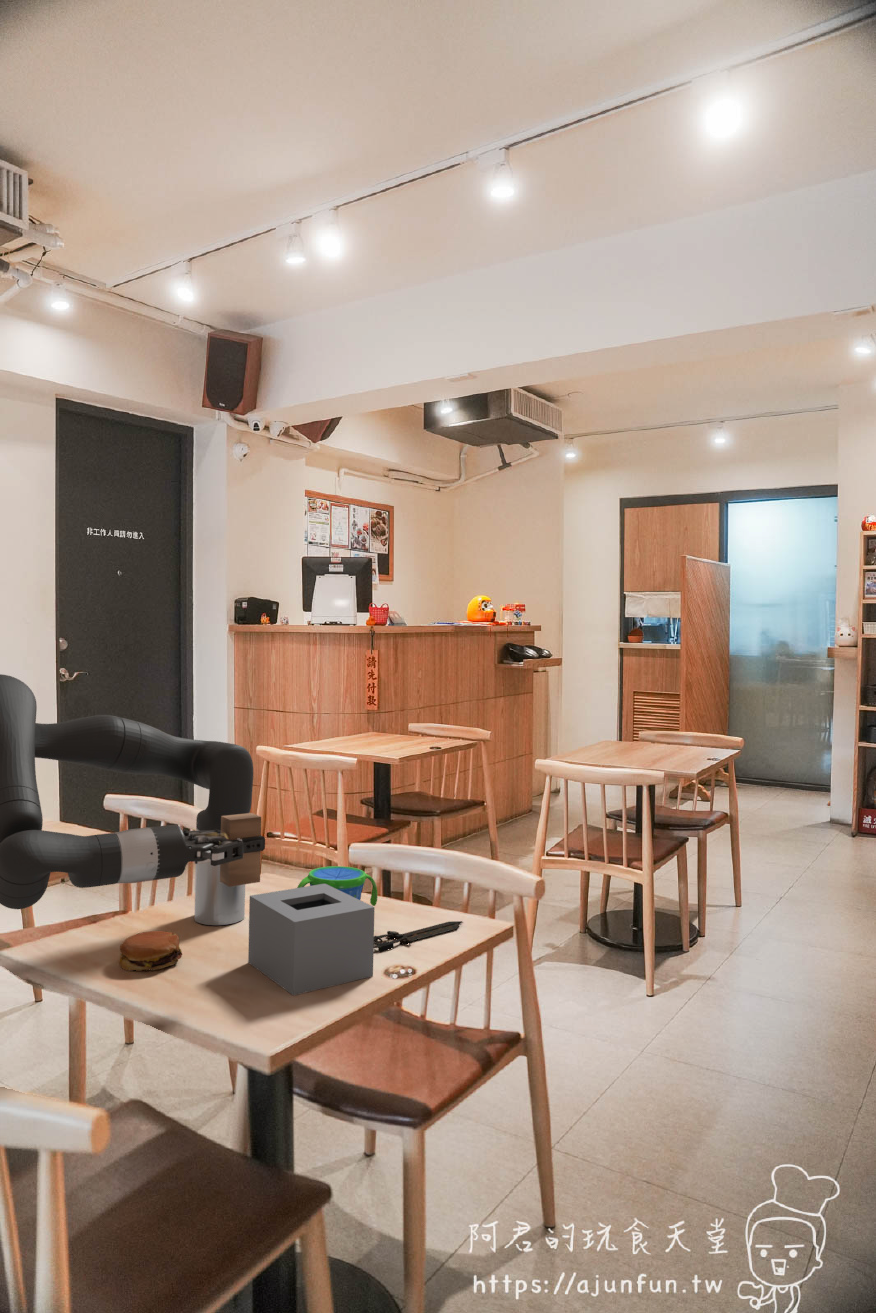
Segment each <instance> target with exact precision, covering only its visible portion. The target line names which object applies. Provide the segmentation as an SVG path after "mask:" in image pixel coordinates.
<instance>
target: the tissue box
mask: <svg viewBox="0 0 876 1313" xmlns="http://www.w3.org/2000/svg"><path fill="white" fill-rule="evenodd" d="M248 908H249V911H248V912H249V914H248V916H249V917H248V918H249V919H248V954H247V955H248V959H247V960H248V961H247V962H248V964H250V965H251V966H252V967H253V968H255V969H256V970H258V971H260V972H261V973H262V974H264V975H265V976H266V977H267V978H269V979H270V980H271V981H273V982H274V983H276V984H277V985H278V986H280V987H281V988H283V989H284V990H285V991H286V992H287V993H289V994H290V995H292V996H296V995H301V994H305V993H308V992H313V991H316V990H317V991H318V990H321V989H325V988H328V987H329V988H330V987H335V986H337V985H342V984H346V983H350V982H355V981H359V980H363V979H368V978H371V977H370V976H372V977H374V950H375V948H374V946H375V944H374V936H375V906H373V905H371V904H368V903H366V902H364V901H362V900H361V899H360V900H358V899H356V898H354V897H352V896H350V895H348V894H346V893H344V892H342V891H340V890H338V889H335V888H333V887H331V886H329V885H327V884H319V885H313V886H310V885H308V886H307V885H306V886H304V887H300V888H297V887H295V888H289V889H284V890H277V891H270V892H263V893H259V894H252V895H249V907H248Z"/></svg>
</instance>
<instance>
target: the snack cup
mask: <svg viewBox="0 0 876 1313" xmlns="http://www.w3.org/2000/svg"><path fill="white" fill-rule="evenodd" d="M366 879H367V880H369V881H370V882H371V887H372V889H371V893H370V894H371V896H370V900H369V903H370V905H371V906H373V907H376V905H377V902H378V897H379V896H378V895H379V894H378V887H377V886H378V885H377V884H376V881H375V880H374V878H373V877H372V876H371V875H369V874H367V873H366V872H365V871H364V870H362V869H360V868H356V867H352V866H342V865H340V866H338V865H336V866H335V865H332V866H331V865H330V866H322V867H317V868H314V869H312V870H310V871H309V872H308V875H307V876H306V877H304V878H303V879H301V881H300V882H299V883H298V885H297V887H296V888H300V887H306V886H307V885H308V884H309V886H313V885H319V884H327V885H329V886H331V887H333V888H335V889H338V890H340V891H342V892H344V893H346V894H348V895H350V896H352V897H354V898H356V899H358V900H361V898H362V893H363V889H364V885H365V882H366Z"/></svg>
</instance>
